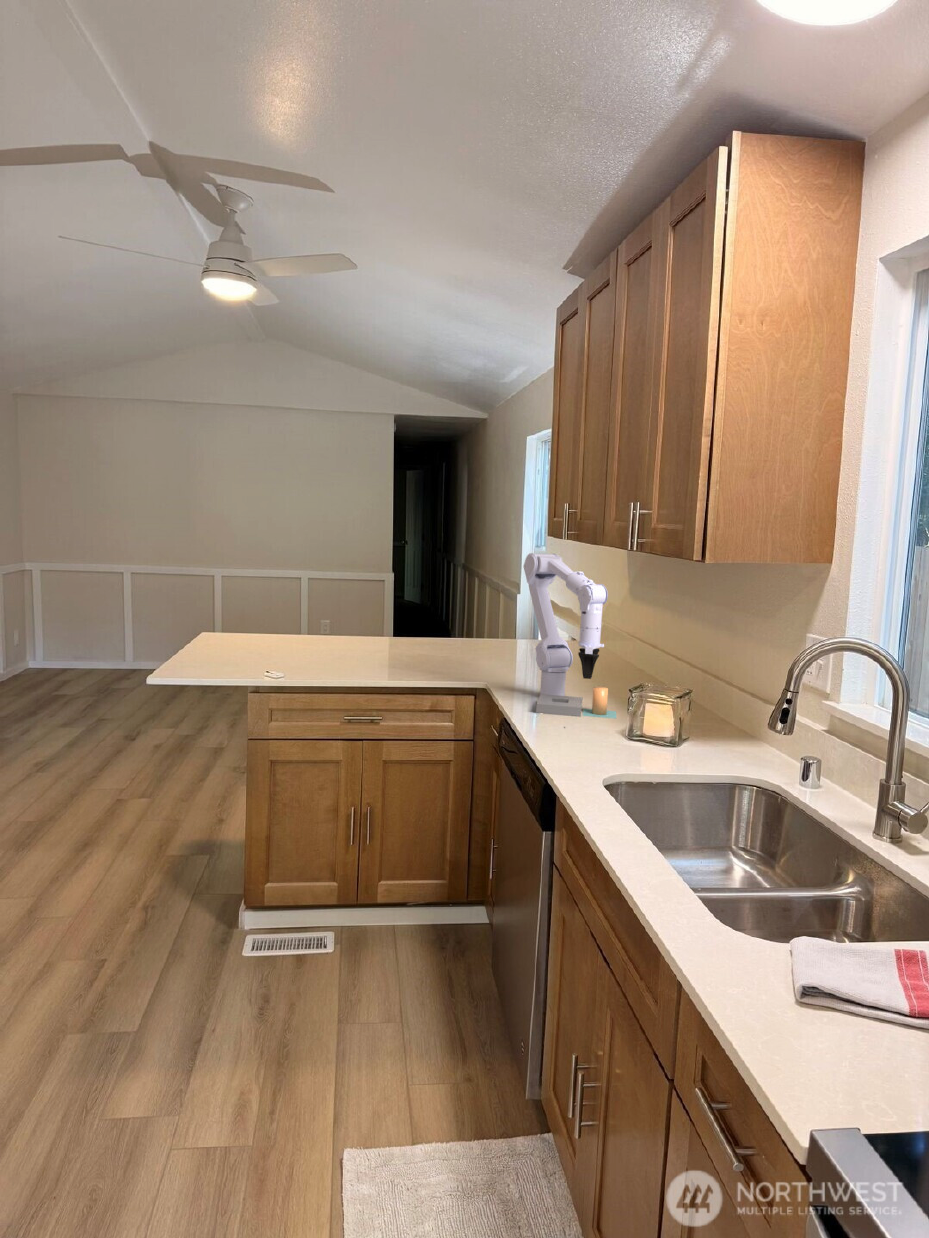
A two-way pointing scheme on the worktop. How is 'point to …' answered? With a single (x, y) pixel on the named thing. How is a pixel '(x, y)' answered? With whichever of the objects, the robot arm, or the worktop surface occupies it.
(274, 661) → the worktop surface
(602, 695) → the plug
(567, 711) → the block
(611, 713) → the mat
